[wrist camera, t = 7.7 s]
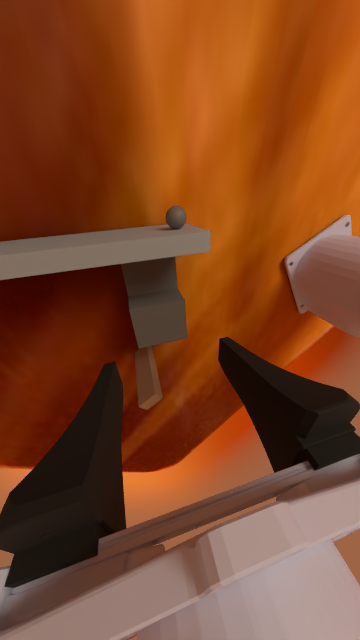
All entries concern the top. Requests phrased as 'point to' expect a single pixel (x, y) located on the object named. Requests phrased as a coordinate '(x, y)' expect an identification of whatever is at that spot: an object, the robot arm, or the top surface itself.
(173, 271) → the doorstop wedge
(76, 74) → the top surface
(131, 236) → the door
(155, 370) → the gateposts
